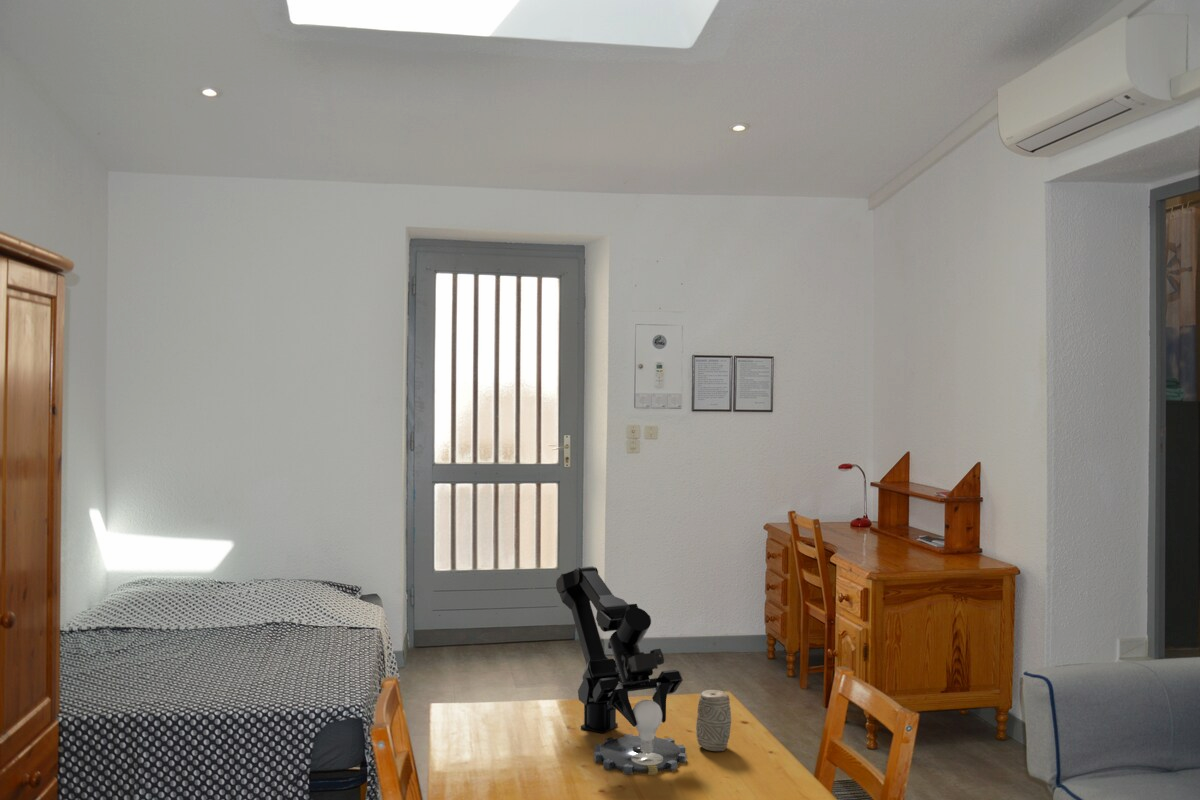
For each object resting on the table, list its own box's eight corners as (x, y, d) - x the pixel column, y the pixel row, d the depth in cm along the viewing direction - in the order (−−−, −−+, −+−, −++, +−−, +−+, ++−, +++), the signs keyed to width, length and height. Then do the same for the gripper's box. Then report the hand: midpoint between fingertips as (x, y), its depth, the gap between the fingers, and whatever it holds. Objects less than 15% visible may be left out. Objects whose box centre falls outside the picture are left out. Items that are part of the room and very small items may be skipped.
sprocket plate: (576, 762, 203) (576, 753, 203) (623, 734, 219) (623, 726, 219) (658, 782, 193) (658, 772, 193) (701, 751, 209) (701, 742, 209)
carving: (730, 754, 207) (730, 698, 207) (694, 752, 209) (694, 696, 209) (732, 744, 214) (732, 689, 214) (697, 741, 215) (697, 687, 215)
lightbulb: (631, 747, 204) (631, 695, 204) (661, 747, 204) (661, 695, 204) (631, 759, 198) (631, 705, 197) (663, 759, 197) (663, 705, 197)
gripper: (598, 640, 200) (619, 710, 190) (678, 631, 208) (703, 698, 198) (583, 668, 208) (603, 737, 198) (662, 659, 215) (685, 725, 205)
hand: (649, 723), depth 199 cm, fingers closed on lightbulb, 6 cm apart
